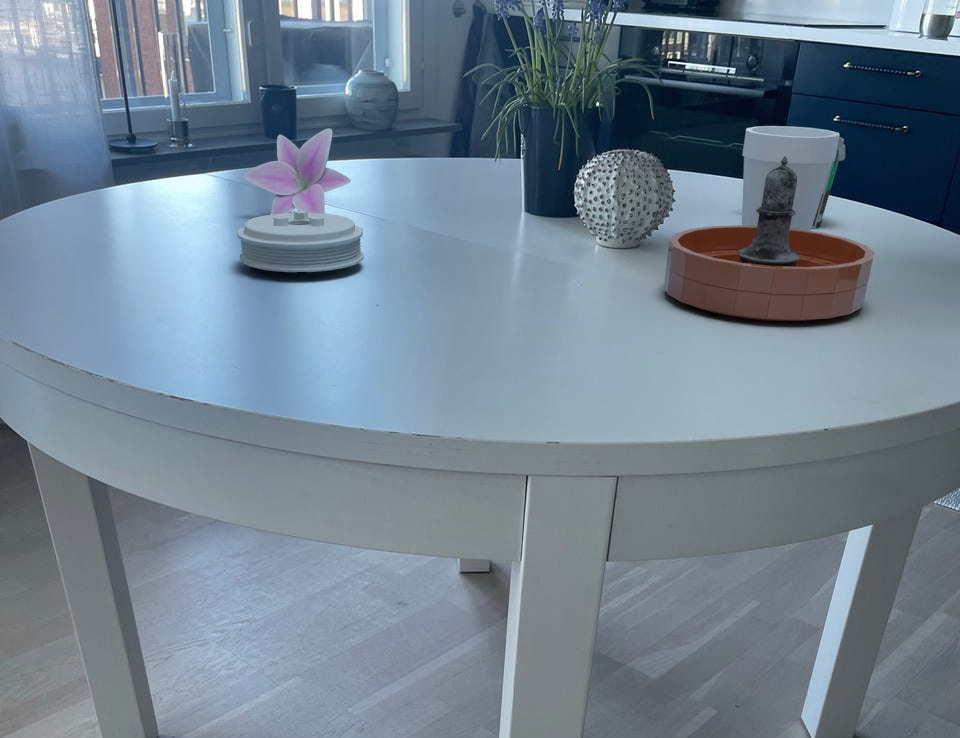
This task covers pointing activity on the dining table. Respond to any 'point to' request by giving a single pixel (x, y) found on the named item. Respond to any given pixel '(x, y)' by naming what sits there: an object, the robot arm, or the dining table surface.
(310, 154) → the lily
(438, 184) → the dining table surface
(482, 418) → the dining table surface
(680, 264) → the bowl
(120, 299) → the dining table surface
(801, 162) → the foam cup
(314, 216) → the lid
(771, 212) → the salt shaker
